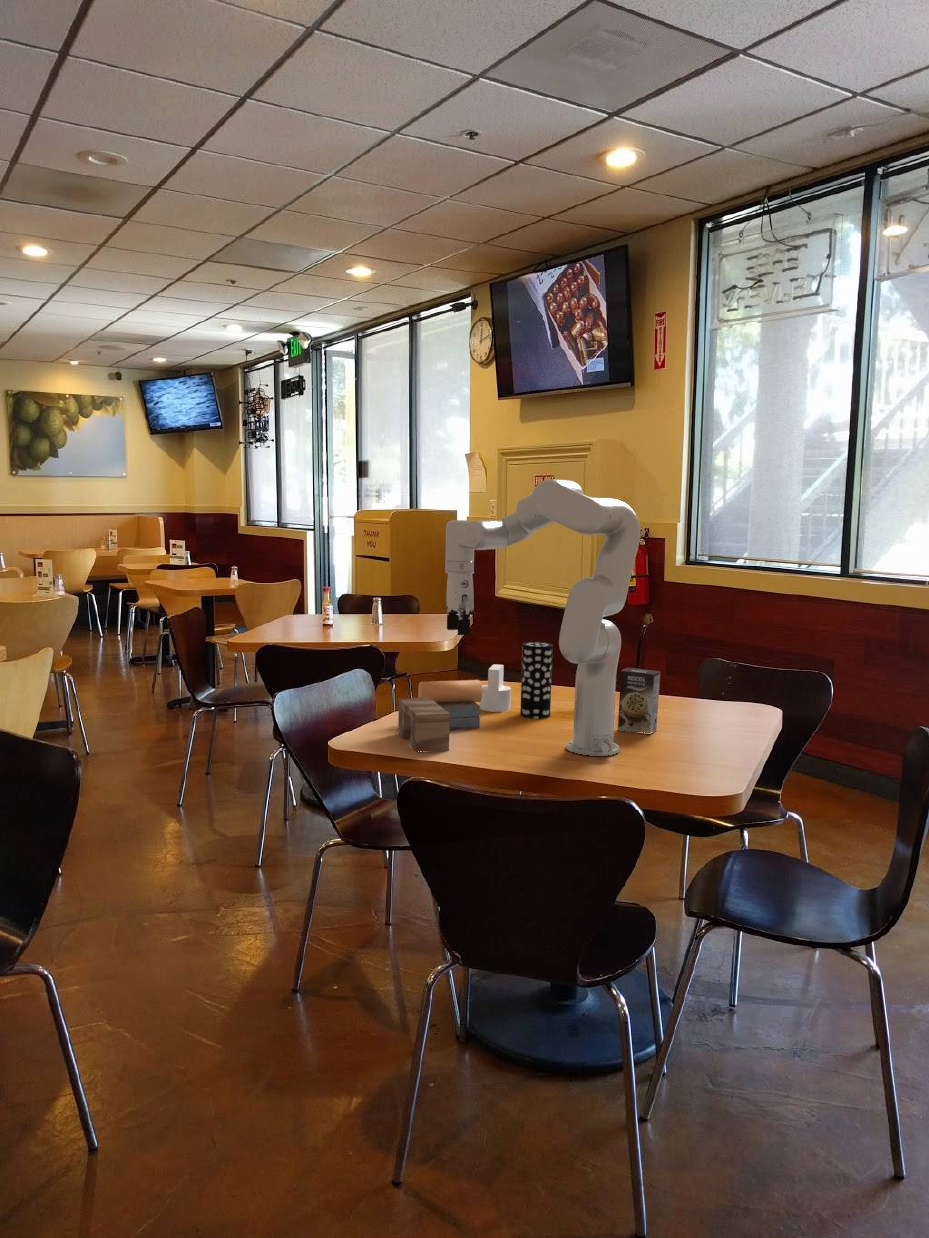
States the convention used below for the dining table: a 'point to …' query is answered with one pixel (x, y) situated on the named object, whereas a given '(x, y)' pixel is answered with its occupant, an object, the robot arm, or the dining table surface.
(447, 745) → the beam
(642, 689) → the coffee box
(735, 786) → the dining table surface
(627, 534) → the robot arm
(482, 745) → the dining table surface
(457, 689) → the tan cylinder
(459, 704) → the v block
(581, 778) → the dining table surface
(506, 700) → the base with upright slab
